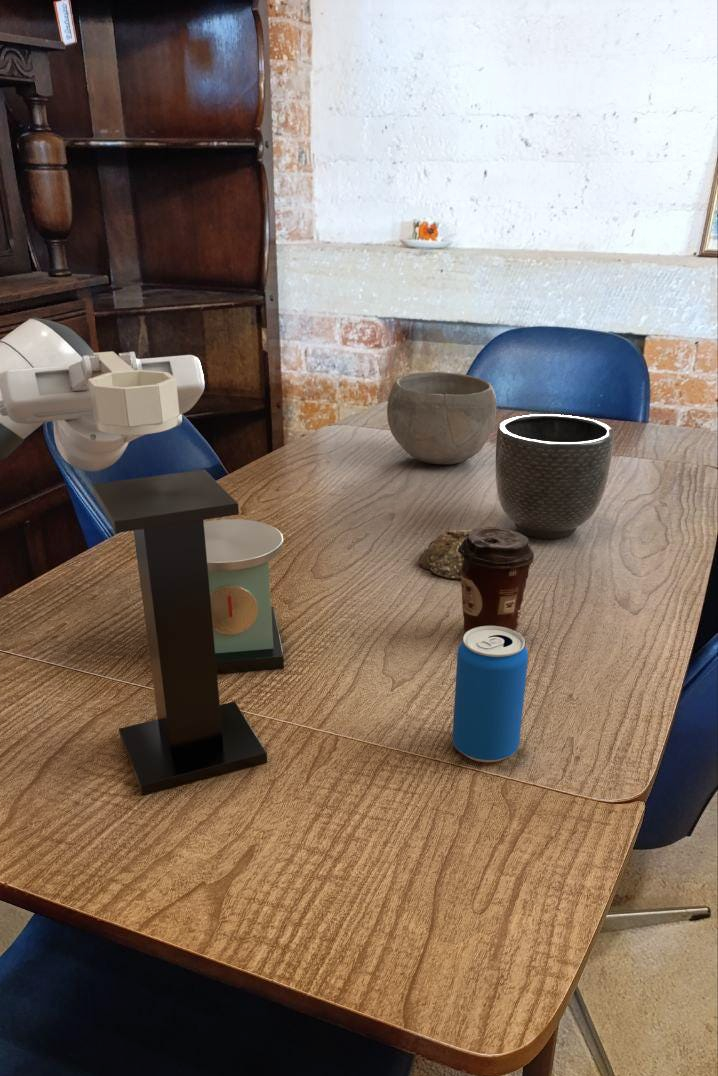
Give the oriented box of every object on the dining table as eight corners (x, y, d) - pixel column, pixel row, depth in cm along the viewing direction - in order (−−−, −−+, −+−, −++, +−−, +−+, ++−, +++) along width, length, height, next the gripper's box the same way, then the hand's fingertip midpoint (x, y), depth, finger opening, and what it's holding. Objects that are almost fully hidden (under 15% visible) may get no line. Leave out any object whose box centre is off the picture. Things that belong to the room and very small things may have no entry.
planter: (472, 516, 143) (478, 418, 135) (566, 505, 147) (577, 410, 140) (520, 556, 128) (530, 448, 121) (623, 542, 133) (639, 438, 125)
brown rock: (515, 553, 129) (518, 522, 127) (500, 587, 119) (503, 553, 116) (430, 543, 133) (431, 512, 130) (409, 575, 122) (410, 542, 120)
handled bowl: (73, 396, 87) (66, 354, 85) (143, 389, 90) (138, 349, 88) (105, 439, 74) (98, 390, 72) (186, 429, 76) (182, 383, 74)
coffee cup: (457, 653, 103) (463, 550, 96) (448, 621, 110) (453, 523, 104) (531, 652, 103) (542, 549, 97) (517, 620, 110) (527, 522, 104)
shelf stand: (119, 735, 88) (80, 485, 75) (234, 708, 92) (215, 468, 80) (142, 795, 79) (102, 525, 67) (267, 762, 84) (252, 503, 71)
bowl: (510, 470, 165) (516, 389, 158) (404, 479, 160) (407, 396, 153) (469, 440, 183) (473, 366, 175) (373, 448, 178) (373, 372, 171)
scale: (177, 624, 109) (166, 522, 103) (282, 617, 111) (277, 516, 104) (176, 677, 98) (164, 566, 91) (292, 667, 100) (288, 558, 93)
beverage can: (532, 753, 85) (544, 645, 79) (480, 775, 82) (488, 664, 76) (489, 722, 90) (498, 617, 84) (438, 741, 87) (444, 634, 81)
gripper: (-8, 386, 93) (-12, 336, 80) (182, 370, 100) (206, 321, 87) (5, 445, 93) (3, 404, 80) (194, 424, 100) (219, 384, 87)
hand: (111, 361), depth 84 cm, fingers closed on handled bowl, 2 cm apart
